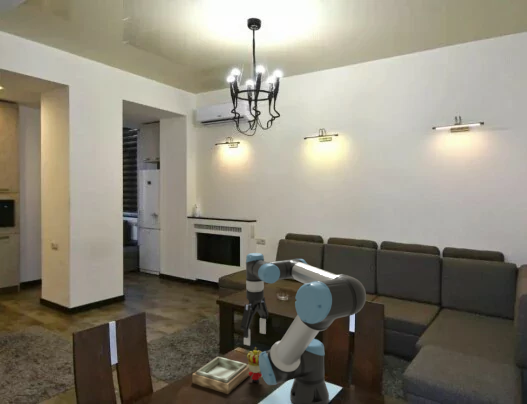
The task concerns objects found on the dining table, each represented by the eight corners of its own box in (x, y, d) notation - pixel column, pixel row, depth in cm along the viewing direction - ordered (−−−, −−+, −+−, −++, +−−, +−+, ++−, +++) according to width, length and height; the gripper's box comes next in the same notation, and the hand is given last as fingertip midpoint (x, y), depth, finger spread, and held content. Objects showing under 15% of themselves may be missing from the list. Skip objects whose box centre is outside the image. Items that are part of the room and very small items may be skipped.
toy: (265, 378, 157) (265, 344, 157) (261, 386, 150) (261, 351, 150) (250, 376, 159) (250, 342, 159) (245, 384, 152) (244, 349, 152)
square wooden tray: (250, 374, 161) (250, 363, 161) (227, 394, 145) (227, 382, 145) (217, 365, 169) (217, 355, 169) (192, 383, 153) (192, 371, 153)
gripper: (261, 282, 167) (261, 327, 167) (231, 295, 145) (231, 348, 145) (275, 284, 163) (275, 330, 164) (247, 298, 141) (247, 351, 142)
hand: (255, 338), depth 155 cm, fingers open, 13 cm apart
